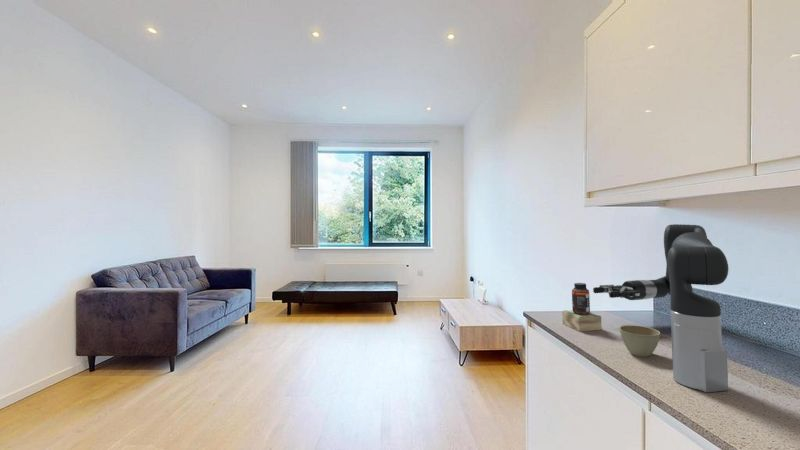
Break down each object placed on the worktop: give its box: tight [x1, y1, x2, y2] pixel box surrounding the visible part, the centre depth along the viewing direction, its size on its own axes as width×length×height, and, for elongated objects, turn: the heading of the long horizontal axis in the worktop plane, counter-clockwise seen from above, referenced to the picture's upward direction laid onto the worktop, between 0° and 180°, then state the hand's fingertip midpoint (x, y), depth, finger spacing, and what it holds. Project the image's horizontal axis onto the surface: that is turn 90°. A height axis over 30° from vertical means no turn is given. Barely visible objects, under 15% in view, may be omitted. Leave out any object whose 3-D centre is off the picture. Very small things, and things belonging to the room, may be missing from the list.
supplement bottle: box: [571, 282, 591, 314], centre depth 129 cm, size 6×6×11 cm
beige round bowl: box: [618, 324, 661, 358], centre depth 101 cm, size 10×10×7 cm
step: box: [561, 309, 603, 332], centre depth 129 cm, size 10×9×5 cm
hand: (601, 292), depth 131 cm, fingers open, 8 cm apart
